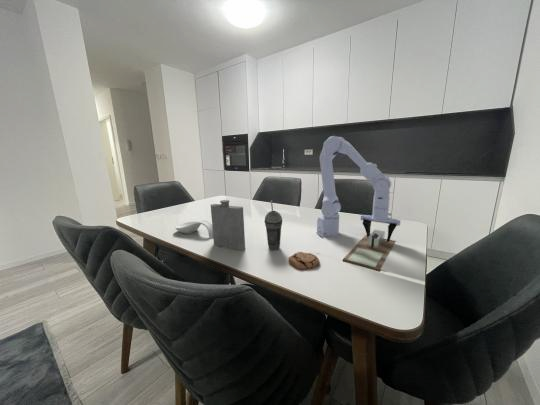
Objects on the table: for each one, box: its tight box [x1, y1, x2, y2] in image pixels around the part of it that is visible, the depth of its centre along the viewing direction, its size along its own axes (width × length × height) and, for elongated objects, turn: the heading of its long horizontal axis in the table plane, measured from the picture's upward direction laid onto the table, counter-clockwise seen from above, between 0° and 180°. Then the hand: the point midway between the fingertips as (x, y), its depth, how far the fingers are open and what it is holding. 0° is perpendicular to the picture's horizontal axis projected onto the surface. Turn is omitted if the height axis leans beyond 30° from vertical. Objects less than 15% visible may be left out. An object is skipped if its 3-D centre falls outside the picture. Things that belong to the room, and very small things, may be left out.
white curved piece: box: [175, 219, 213, 239], centre depth 110 cm, size 24×12×7 cm, turn 60°
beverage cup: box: [264, 199, 283, 251], centre depth 89 cm, size 7×7×20 cm
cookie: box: [288, 251, 321, 271], centre depth 78 cm, size 10×11×3 cm
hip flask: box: [210, 199, 246, 251], centre depth 91 cm, size 16×4×20 cm, turn 61°
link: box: [367, 229, 386, 249], centre depth 89 cm, size 11×4×4 cm, turn 142°
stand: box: [342, 233, 397, 273], centre depth 84 cm, size 28×12×6 cm, turn 142°
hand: (378, 239), depth 92 cm, fingers open, 7 cm apart
